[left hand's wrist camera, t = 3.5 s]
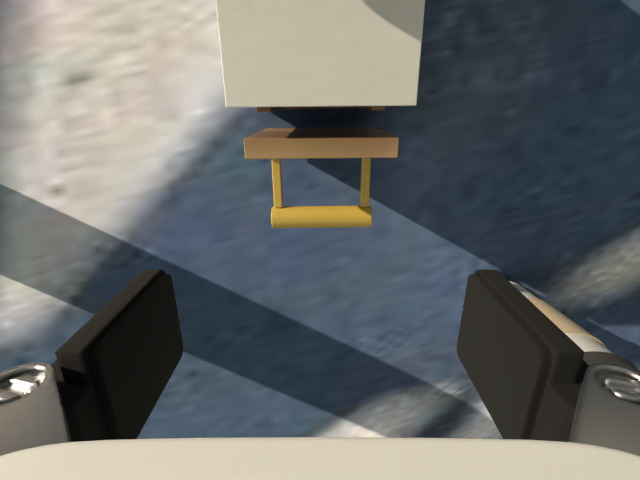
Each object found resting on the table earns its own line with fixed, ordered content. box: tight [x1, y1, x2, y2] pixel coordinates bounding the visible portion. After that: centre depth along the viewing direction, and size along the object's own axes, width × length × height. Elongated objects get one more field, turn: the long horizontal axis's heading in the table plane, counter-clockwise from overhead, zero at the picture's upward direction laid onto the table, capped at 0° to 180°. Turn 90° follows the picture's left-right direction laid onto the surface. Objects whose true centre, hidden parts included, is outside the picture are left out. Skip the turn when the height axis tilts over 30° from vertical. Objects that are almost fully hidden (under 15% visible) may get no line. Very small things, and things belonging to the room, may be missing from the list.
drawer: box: [244, 106, 399, 228], centre depth 24 cm, size 22×9×10 cm, turn 1°
